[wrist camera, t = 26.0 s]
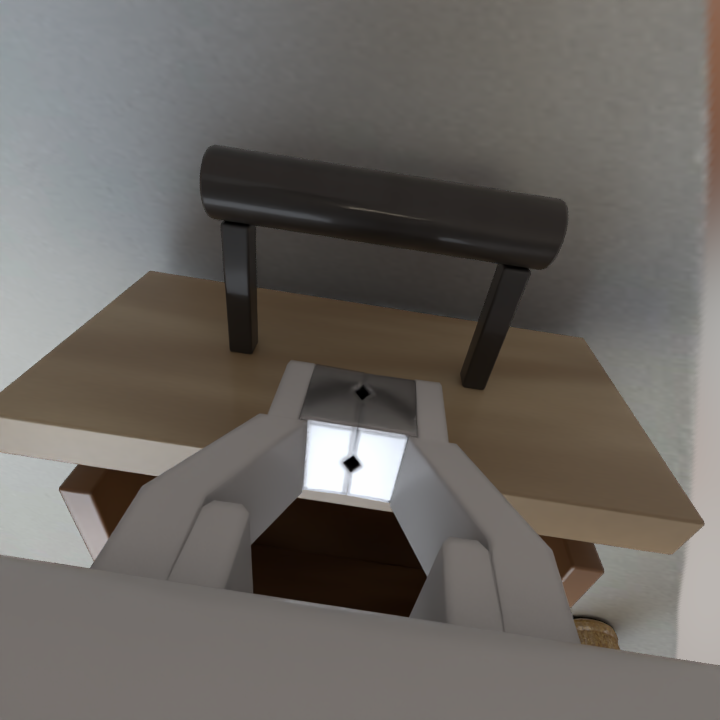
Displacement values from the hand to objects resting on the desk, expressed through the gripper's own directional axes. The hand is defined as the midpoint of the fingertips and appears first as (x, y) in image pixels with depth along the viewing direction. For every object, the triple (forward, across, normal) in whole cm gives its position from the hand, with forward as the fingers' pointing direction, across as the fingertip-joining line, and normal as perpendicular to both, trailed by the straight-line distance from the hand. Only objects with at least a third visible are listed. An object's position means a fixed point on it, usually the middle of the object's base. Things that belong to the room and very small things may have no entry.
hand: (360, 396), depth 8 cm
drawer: (+6, 0, +6) cm, 8 cm away
